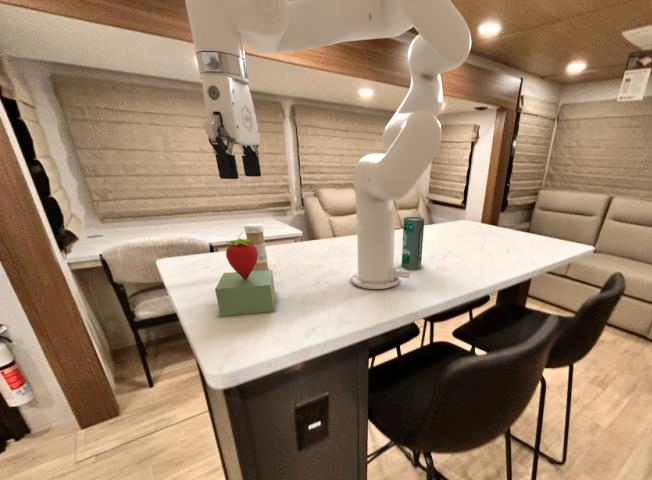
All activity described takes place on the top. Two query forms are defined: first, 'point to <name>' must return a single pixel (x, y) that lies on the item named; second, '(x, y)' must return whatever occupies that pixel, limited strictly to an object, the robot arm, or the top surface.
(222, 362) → the top surface
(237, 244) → the strawberry
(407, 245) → the can
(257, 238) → the sprinkles bottle
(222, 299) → the green block
